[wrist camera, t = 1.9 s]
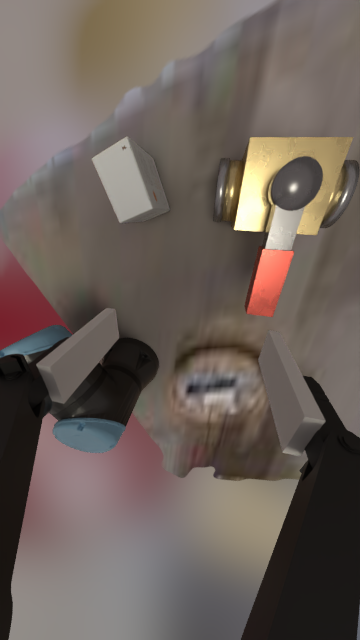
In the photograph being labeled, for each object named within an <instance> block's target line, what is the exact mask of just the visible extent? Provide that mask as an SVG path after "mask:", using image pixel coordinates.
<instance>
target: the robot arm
mask: <svg viewBox="0 0 360 640" xmlns="http://www.w3.org/2000/svg"><path fill="white" fill-rule="evenodd" d="M104 355H105V356H104ZM103 357H104V359H103V362H102V365H101V364H100V363H99V361H100V360H101V359H102V358H103ZM258 361H259V364H260V368H261V372H262V376H263V380H264V383H265V387H266V391H267V395H268V398H269V402H270V406H271V410H272V414H273V417H274V421H275V425H276V429H277V433H278V436H279V440H280V444H281V448H282V452H283V453H288V454H292V455H297V456H300V455H301V454H302V453H303V451H304V450H305V451H306V454H307V457H308V461H307V462H306V463H305V464H304V466H303V467H302V468H301V469H300V472H301V473H302V474H301V477H300V480H299V482H298V485H297V488H296V490H295V493H294V496H293V499H292V501H291V504H290V507H289V510H288V512H287V515H286V518H285V520H284V523H283V526H282V529H281V531H280V534H279V537H278V539H277V542H276V545H275V548H274V550H273V553H272V556H271V559H270V561H269V564H268V567H267V569H266V572H265V575H264V578H263V580H262V583H261V586H260V588H259V591H258V594H257V597H256V599H255V602H254V605H253V607H252V610H251V613H250V616H249V618H248V621H247V624H246V627H245V629H244V632H243V635H242V638H241V640H357V628H358V616H359V605H360V438H359V437H357V436H356V435H355V434H353V433H352V432H350V431H348V430H346V428H345V427H344V425H343V423H342V421H341V420H340V418H339V416H338V415H337V413H336V411H335V410H334V408H333V406H332V404H331V403H330V402H329V399H328V398H327V396H326V395H325V393H324V391H323V389H322V388H321V386H320V385H319V384H318V383H317V382H316V381H315V380H314V379H313V378H312V377H307V376H302V374H301V372H300V370H299V368H298V366H297V364H296V362H295V360H294V358H293V356H292V354H291V352H290V351H289V349H288V347H287V345H286V343H285V341H284V339H283V337H282V335H281V333H280V332H277V331H270V330H268V333H267V336H266V339H265V342H264V345H263V348H262V351H261V354H260V357H259V360H258ZM158 367H159V362H158V358H157V356H156V354H155V353H154V351H153V350H152V349H151V348H150V347H149V346H147V345H146V344H144V343H143V342H141V341H138V340H136V339H131V338H122V339H119V331H118V323H117V315H116V309H112V308H106V309H105V310H103V311H102V312H101V313H100V314H98V315H97V316H96V317H95V318H93V319H92V320H91V321H90V322H88V323H87V324H86V325H85V326H83V327H82V328H81V329H80V330H78V331H77V332H76V333H75V334H73V335H72V334H71V333H70V332H69V331H68V330H67V329H66V328H65V327H63V326H61V325H53V326H49V327H47V328H45V329H42V330H40V331H38V332H36V333H34V334H32V335H30V336H28V337H26V338H23V339H22V340H19V341H18V342H16V343H14V344H12V345H10V346H8V347H6V348H5V349H2V350H1V351H0V640H8V639H9V633H10V627H11V620H12V607H13V602H12V595H11V581H12V575H13V569H14V564H15V559H16V554H17V549H18V543H19V538H20V533H21V528H22V522H23V518H24V512H25V507H26V501H27V497H28V491H29V486H30V481H31V476H32V471H33V465H34V460H35V455H36V450H37V445H38V439H39V435H40V429H41V424H42V419H43V417H44V416H45V415H46V414H47V413H50V414H52V415H53V416H54V417H55V418H56V419H57V420H58V422H57V423H56V424H55V425H54V428H53V434H54V435H55V438H56V439H58V440H59V441H60V442H62V443H63V444H65V445H67V446H69V447H71V448H74V449H77V450H80V451H84V452H90V453H103V452H107V451H109V450H111V449H112V448H114V447H115V446H116V444H117V443H118V441H119V439H120V437H121V435H122V433H123V432H124V431H125V427H126V425H127V422H128V420H129V418H130V416H131V413H132V411H133V409H134V407H135V404H136V402H137V400H138V398H139V395H140V393H141V391H142V390H143V389H144V388H145V387H146V386H147V385H148V384H149V383H150V382H151V381H152V380H153V378H154V377H155V375H156V373H157V371H158Z"/></svg>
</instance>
